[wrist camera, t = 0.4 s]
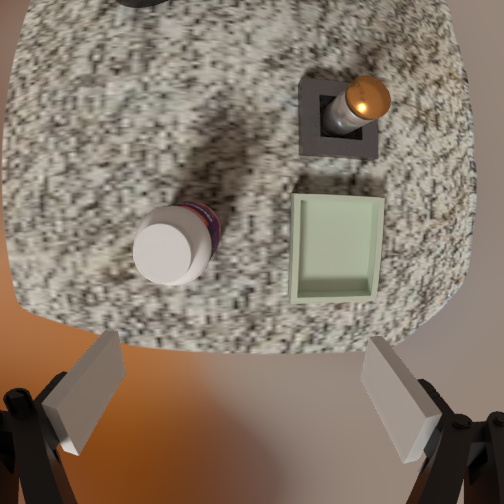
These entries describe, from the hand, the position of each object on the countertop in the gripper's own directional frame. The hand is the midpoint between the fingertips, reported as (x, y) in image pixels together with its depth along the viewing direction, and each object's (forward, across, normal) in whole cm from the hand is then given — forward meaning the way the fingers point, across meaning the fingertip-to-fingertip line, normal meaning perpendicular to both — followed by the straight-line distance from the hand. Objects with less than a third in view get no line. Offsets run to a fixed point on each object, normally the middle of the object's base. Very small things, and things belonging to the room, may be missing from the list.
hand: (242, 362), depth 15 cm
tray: (+27, +12, +1) cm, 29 cm away
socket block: (+27, +11, +18) cm, 34 cm away
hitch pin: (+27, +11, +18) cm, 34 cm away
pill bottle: (+27, -7, +2) cm, 28 cm away
